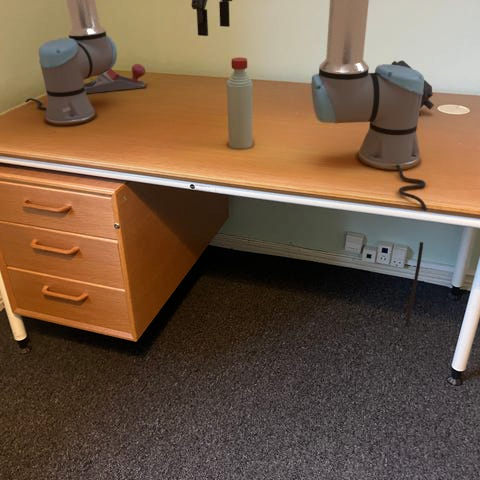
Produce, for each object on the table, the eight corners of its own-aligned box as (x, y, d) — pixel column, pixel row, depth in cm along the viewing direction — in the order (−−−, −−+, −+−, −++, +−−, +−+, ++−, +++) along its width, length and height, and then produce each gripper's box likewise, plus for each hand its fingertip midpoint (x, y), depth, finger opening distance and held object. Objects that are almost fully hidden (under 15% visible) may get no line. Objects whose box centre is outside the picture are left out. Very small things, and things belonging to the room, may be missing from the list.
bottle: (257, 143, 150) (257, 59, 138) (243, 150, 146) (242, 65, 133) (237, 138, 154) (236, 56, 141) (224, 145, 149) (220, 61, 137)
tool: (372, 91, 179) (399, 54, 168) (415, 128, 175) (445, 93, 164) (364, 95, 175) (390, 58, 165) (407, 134, 171) (437, 98, 160)
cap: (250, 66, 139) (250, 58, 138) (241, 70, 136) (241, 61, 135) (237, 64, 141) (237, 56, 140) (228, 68, 138) (228, 59, 137)
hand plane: (62, 90, 197) (53, 48, 189) (145, 82, 205) (140, 41, 197) (62, 96, 191) (54, 53, 184) (148, 87, 199) (143, 45, 191)
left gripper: (201, -54, 125) (205, 40, 136) (243, -60, 144) (244, 23, 156) (173, -54, 128) (180, 38, 139) (219, -60, 147) (221, 22, 158)
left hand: (214, 30), depth 147 cm, fingers open, 13 cm apart
